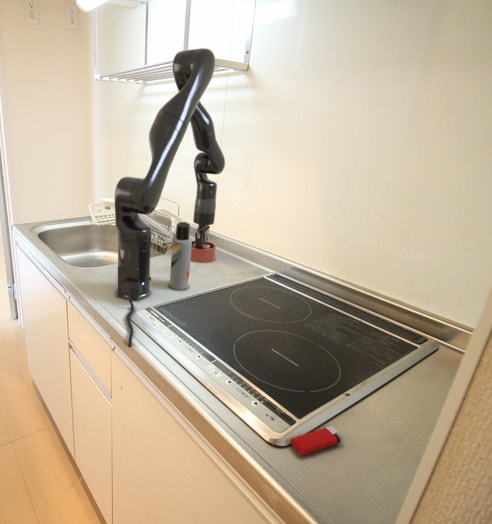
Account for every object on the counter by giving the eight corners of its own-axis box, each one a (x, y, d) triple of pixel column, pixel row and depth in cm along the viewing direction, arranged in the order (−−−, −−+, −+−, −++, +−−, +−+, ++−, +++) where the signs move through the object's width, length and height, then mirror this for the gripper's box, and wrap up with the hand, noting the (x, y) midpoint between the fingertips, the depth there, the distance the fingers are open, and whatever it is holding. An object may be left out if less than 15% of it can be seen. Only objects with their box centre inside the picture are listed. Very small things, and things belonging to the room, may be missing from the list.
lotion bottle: (187, 283, 114) (192, 221, 107) (188, 290, 109) (193, 226, 102) (169, 282, 114) (173, 220, 107) (169, 289, 109) (173, 225, 102)
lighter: (291, 436, 57) (330, 424, 59) (289, 442, 57) (329, 430, 60) (304, 450, 54) (344, 437, 57) (302, 456, 55) (343, 443, 57)
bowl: (211, 264, 131) (212, 251, 129) (182, 259, 134) (183, 246, 132) (216, 255, 140) (218, 242, 138) (190, 251, 143) (191, 239, 142)
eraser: (209, 255, 137) (210, 245, 136) (207, 258, 134) (208, 248, 132) (194, 252, 139) (194, 242, 138) (191, 255, 136) (192, 245, 134)
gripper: (199, 205, 138) (195, 248, 144) (189, 212, 126) (185, 259, 132) (218, 207, 136) (213, 251, 142) (211, 215, 123) (206, 262, 129)
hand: (200, 254), depth 137 cm, fingers closed on eraser, 4 cm apart
